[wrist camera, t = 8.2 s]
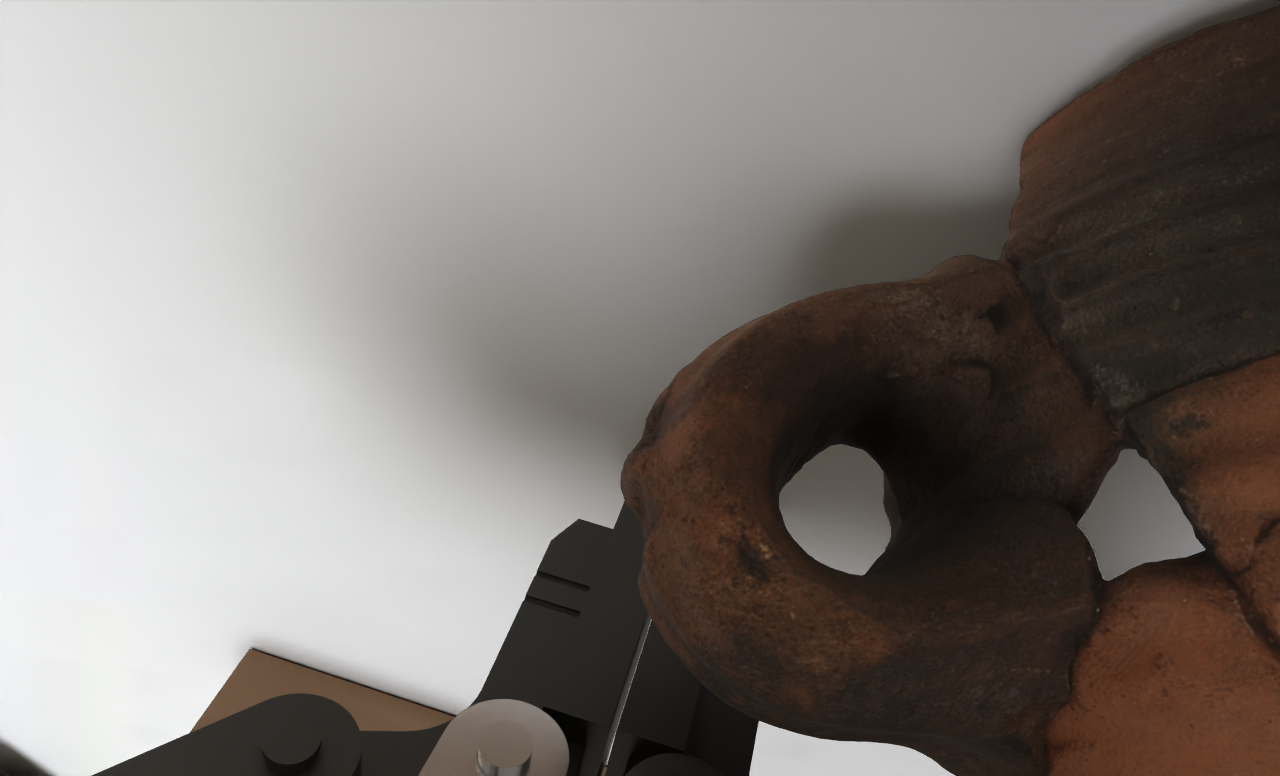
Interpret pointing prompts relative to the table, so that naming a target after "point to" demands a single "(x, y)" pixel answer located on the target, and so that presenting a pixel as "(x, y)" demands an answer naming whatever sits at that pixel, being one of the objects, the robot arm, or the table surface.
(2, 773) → the electric trimmer
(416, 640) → the table surface
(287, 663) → the lane rails
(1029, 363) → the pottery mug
